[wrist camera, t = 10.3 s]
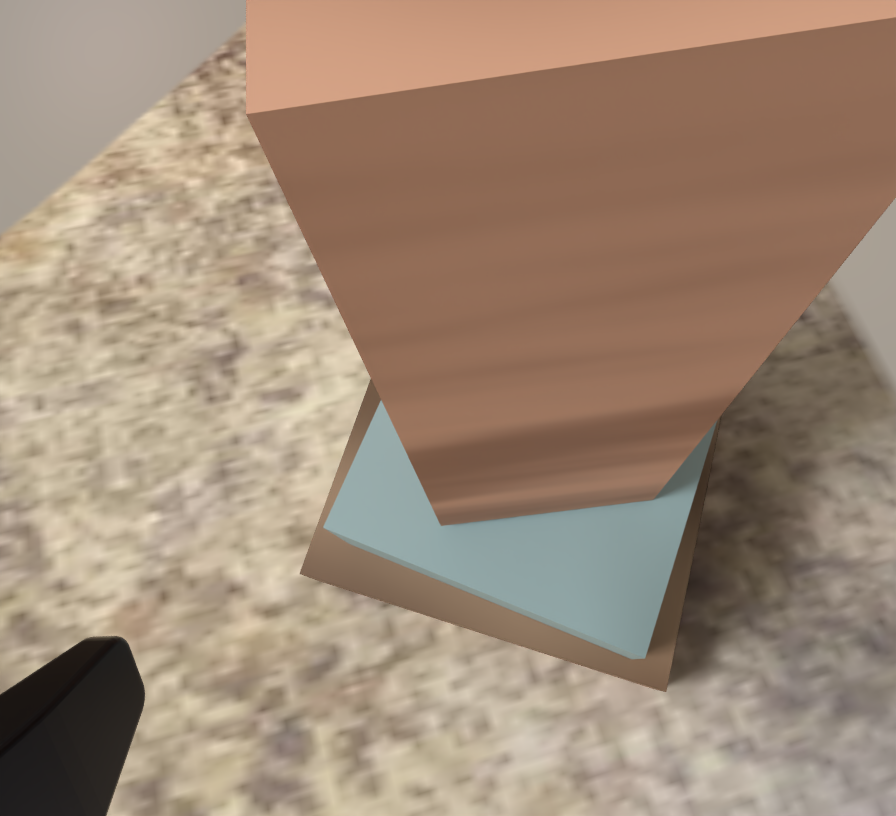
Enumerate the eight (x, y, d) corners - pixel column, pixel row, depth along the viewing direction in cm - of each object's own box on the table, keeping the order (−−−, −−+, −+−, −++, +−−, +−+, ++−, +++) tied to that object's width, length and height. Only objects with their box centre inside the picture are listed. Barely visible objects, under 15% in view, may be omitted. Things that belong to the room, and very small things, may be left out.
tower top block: (631, 659, 18) (645, 658, 15) (349, 543, 19) (323, 527, 17) (717, 379, 20) (741, 342, 17) (456, 301, 22) (445, 257, 19)
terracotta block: (653, 499, 16) (1060, -9, 4) (440, 525, 16) (246, 113, 4) (612, 311, 18) (813, -418, 6) (421, 337, 18) (246, -319, 6)
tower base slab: (651, 688, 20) (666, 691, 17) (325, 583, 22) (299, 574, 19) (717, 368, 22) (737, 334, 20) (424, 303, 25) (412, 265, 22)
